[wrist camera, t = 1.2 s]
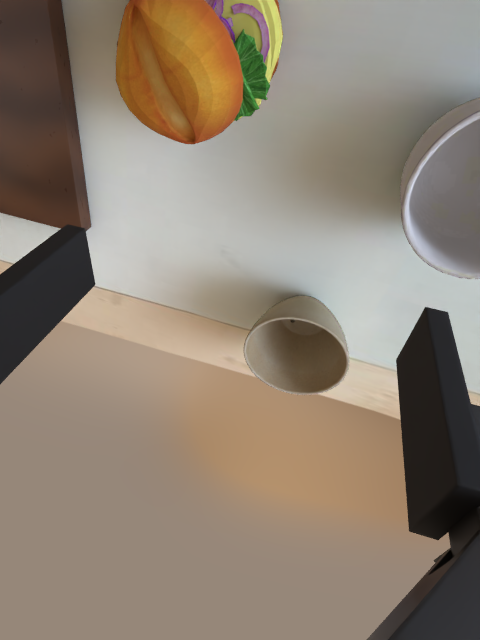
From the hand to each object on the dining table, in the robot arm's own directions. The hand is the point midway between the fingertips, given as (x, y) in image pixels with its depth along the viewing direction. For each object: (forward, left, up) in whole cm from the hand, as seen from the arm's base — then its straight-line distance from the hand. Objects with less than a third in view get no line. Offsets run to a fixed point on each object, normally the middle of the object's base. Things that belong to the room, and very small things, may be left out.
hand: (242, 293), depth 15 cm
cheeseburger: (-5, -8, -22) cm, 24 cm away
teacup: (-1, +14, -22) cm, 26 cm away
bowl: (+17, +4, -22) cm, 28 cm away
